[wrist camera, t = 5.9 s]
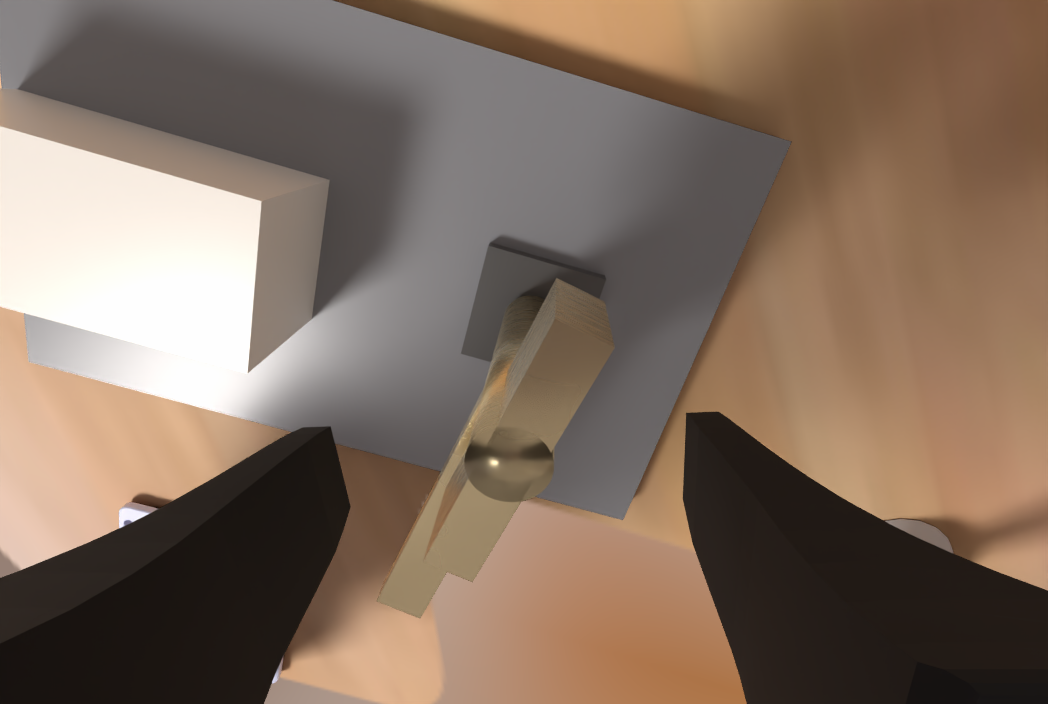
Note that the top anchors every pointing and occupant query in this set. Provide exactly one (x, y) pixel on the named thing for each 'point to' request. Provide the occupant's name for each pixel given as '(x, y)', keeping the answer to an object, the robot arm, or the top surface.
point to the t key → (504, 440)
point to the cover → (153, 234)
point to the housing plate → (419, 216)
